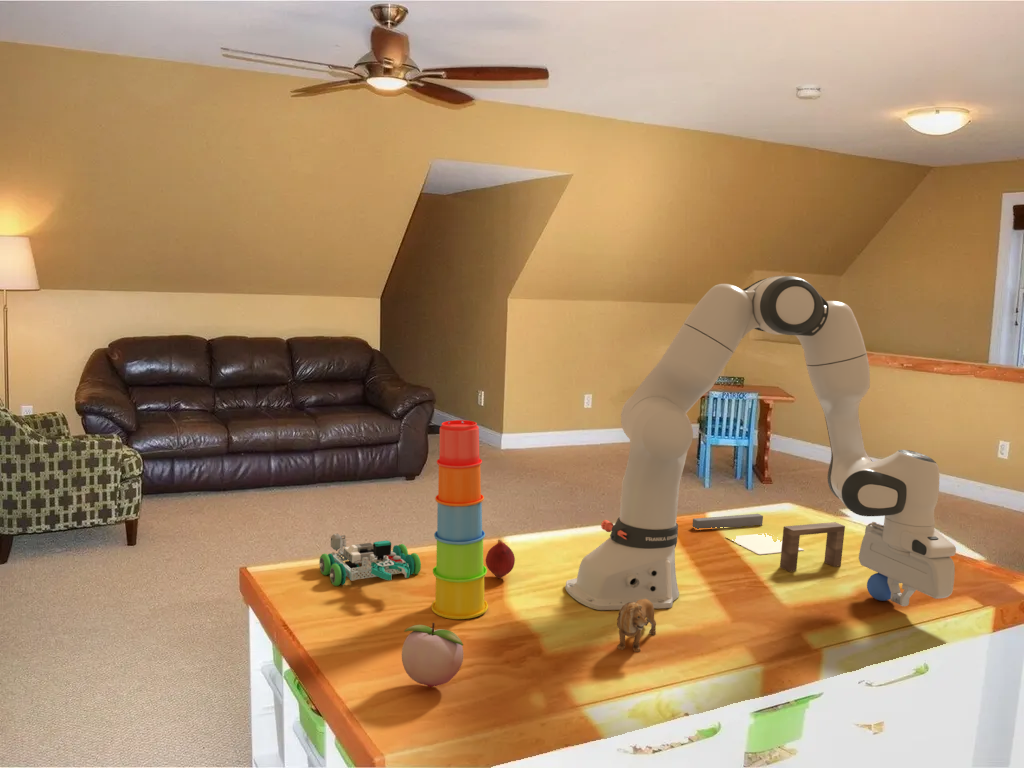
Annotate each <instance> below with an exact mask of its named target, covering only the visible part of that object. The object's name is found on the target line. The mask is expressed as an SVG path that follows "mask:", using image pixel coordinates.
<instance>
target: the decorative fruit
mask: <svg viewBox="0 0 1024 768" xmlns="http://www.w3.org/2000/svg"><path fill="white" fill-rule="evenodd" d="M431 625H432V626H431V627H430V626H427V625H424V624H415V625H412V626H409V627H407V628H406V629H405V630H404V631H403V632H409V631H410V633H409V634H408V635H407V636H406V638H405V640H404V642H403V645H402V648H401V649H402V650H401V662H402V666H403V668H404V670H405V673H406V674H407V675H408V677H409V678H410V679H411V680H413V681H414V682H416V683H418V684H420V685H425V686H427V687H428V688H434V687H438V686H441V685H444V684H447V683H448V682H450V681H451V680H452V679H453V678H454V677H455V676H456V675H457V674H458V672H459V671H460V669H461V667H462V664H463V662H464V647H463V646H464V644H463V641H462V639H461V638H460V637H459V636H458V635H457V633H455V632H454V631H451V630H448V629H444V628H443V629H442V628H441V629H440V628H439V629H435V626H436V624H435V622H432V624H431Z"/></svg>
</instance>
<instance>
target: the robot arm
mask: <svg viewBox="0 0 1024 768" xmlns="http://www.w3.org/2000/svg"><path fill="white" fill-rule="evenodd" d="M753 330H756V331H761V332H766V333H768V334H771V335H780V336H782V335H787V336H795V337H796V338H797V339H798V341H799V344H800V345H801V347H802V350H803V355H804V358H805V359H804V360H805V361H804V362H805V364H806V366H805V367H806V370H807V373H808V377H809V381H810V384H811V386H812V389H813V392H814V393H815V394H814V395H815V396H816V398H817V400H818V403H819V405H820V407H821V409H822V411H823V414H824V418H825V419H824V420H825V423H826V428H827V434H828V440H829V444H830V451H831V456H830V457H831V458H830V462H829V466H828V471H827V484H828V487H829V489H830V491H831V493H832V494H833V495H834V496H835V497H836V498H837V499H838V500H840V502H841V503H842V504H843V505H844V506H845V507H846V508H847V509H848V510H849V511H851V512H852V513H853V514H856V515H858V516H862V517H884V521H883V524H880V523H878V522H875V521H872V522H870V523H868V524H867V525H866V526H865V531H864V535H863V536H862V541H861V544H860V548H859V553H858V560H859V563H860V565H861V566H862V567H865V568H867V569H869V570H871V571H874V572H875V573H880V574H882V575H884V576H887V577H888V581H887V582H888V585H889V588H890V591H891V599H890V601H891V602H893V603H896V604H897V605H900V607H901V606H902V607H907V606H909V604H910V598H911V597H912V595H913V594H915V592H916V591H917V592H919V593H921V594H924V595H926V596H929V597H931V598H933V599H937V600H938V599H945V598H949V597H950V596H951V595H952V593H953V591H954V585H955V568H956V567H955V562H954V560H953V558H951V557H954V556H955V555H956V551H957V547H956V545H955V544H954V543H953V542H951V541H950V540H949V539H947V538H946V537H945V536H944V535H943V534H941V533H940V532H939V531H938V529H936V528H935V526H936V519H935V508H936V506H937V505H938V502H939V501H938V500H939V491H940V468H939V465H938V463H937V462H936V461H935V460H934V459H933V458H931V457H930V456H928V455H926V454H923V453H921V452H917V451H913V450H908V449H898V450H897V451H895V452H894V453H892V454H890V455H888V456H886V457H884V458H881V459H878V460H875V461H873V460H872V459H871V458H870V456H869V455H868V453H867V451H866V448H865V444H864V443H865V442H864V438H863V434H862V433H863V432H862V428H861V422H860V416H859V408H860V404H861V402H862V400H863V398H864V397H865V396H866V394H867V393H868V391H869V389H870V385H871V384H870V383H871V378H870V377H871V376H870V375H871V373H870V371H871V370H870V363H869V358H868V353H867V349H866V345H865V341H864V340H865V339H864V336H863V334H862V331H861V329H860V326H859V323H858V321H857V318H856V316H855V313H854V312H853V310H852V308H851V307H850V306H849V305H848V304H847V303H844V302H842V301H837V300H826V299H825V298H824V297H823V296H822V295H821V294H820V293H819V292H818V291H817V289H816V288H815V287H814V286H813V284H811V283H810V282H809V281H807V280H805V279H803V278H801V277H797V276H792V275H789V276H787V275H774V276H770V277H768V278H763V279H759V280H758V281H756V282H753V283H751V285H748V286H747V287H745V288H743V289H742V288H740V287H738V286H736V285H735V284H734V285H733V284H730V283H719V284H716V285H713V286H712V287H711V288H710V289H708V291H707V292H706V293H705V294H704V295H703V296H702V297H701V299H700V300H699V301H698V302H697V304H696V305H695V306H694V307H693V309H692V310H691V311H690V313H689V314H688V316H687V317H686V319H685V321H684V322H683V323H682V326H680V329H678V331H677V333H676V335H675V336H674V338H673V339H672V341H671V343H670V344H669V345H668V348H667V349H666V351H665V353H664V354H663V355H662V357H661V358H660V360H659V361H658V362H657V364H656V365H655V366H654V368H653V369H652V370H651V371H650V373H648V375H647V376H646V377H645V378H644V379H643V381H642V382H641V383H640V385H639V386H638V387H637V388H636V390H635V391H634V392H633V394H632V395H631V396H629V398H628V399H627V400H626V401H625V403H623V406H622V409H621V413H620V424H621V428H622V430H623V431H622V432H624V434H625V436H626V437H627V438H628V439H629V443H630V444H629V453H628V456H627V457H628V458H627V462H626V467H625V471H624V475H623V478H622V480H621V492H620V503H619V504H620V506H619V507H620V508H619V517H618V518H617V520H616V521H615V523H614V524H613V522H610V520H607V519H604V520H603V521H602V522H601V524H600V528H601V529H602V530H603V531H605V532H606V533H610V535H609V537H608V539H605V541H604V542H602V543H601V544H600V545H598V546H597V547H596V548H595V549H593V550H592V551H591V552H589V553H588V554H586V555H585V556H584V557H582V560H581V561H580V564H579V568H578V570H577V571H578V572H577V577H576V578H571V579H567V580H566V582H565V586H564V587H565V590H566V592H567V593H568V595H569V596H571V597H572V598H573V599H574V600H576V601H577V602H578V603H579V604H582V605H583V606H586V607H587V608H591V609H593V610H597V611H610V610H611V611H615V610H617V611H618V610H619V611H620V610H621V608H622V607H623V605H625V604H626V603H628V602H635V603H636V602H637V601H638V600H641V599H648V600H649V601H650V602H652V604H653V607H654V609H670V608H672V607H673V602H674V601H675V600H676V599H678V597H680V591H679V587H678V582H677V573H676V557H675V556H676V554H675V553H676V547H677V543H678V535H679V534H678V531H679V524H678V523H677V517H678V507H679V506H678V504H679V492H680V486H681V479H682V476H683V471H684V468H685V465H686V461H687V455H688V451H689V449H690V447H691V446H692V443H693V438H694V432H693V426H692V422H691V420H690V417H689V416H688V414H687V413H688V412H689V411H690V410H691V409H692V408H693V406H695V404H696V403H697V402H698V401H699V400H700V399H701V398H702V397H703V396H704V395H705V394H706V393H708V391H710V390H711V389H713V387H714V385H715V384H716V382H717V380H718V379H719V377H720V375H721V374H722V373H723V371H724V369H725V368H726V366H727V365H728V363H729V361H730V360H731V358H732V356H733V355H734V353H735V351H736V350H737V348H738V346H739V345H740V343H741V341H742V339H744V338H745V337H746V335H748V333H749V332H751V331H753ZM900 584H902V586H901V589H902V590H903V591H902V592H901V589H900Z"/></svg>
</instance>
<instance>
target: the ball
mask: <svg viewBox="0 0 1024 768" xmlns="http://www.w3.org/2000/svg"><path fill="white" fill-rule="evenodd" d="M887 581H888V577H887V576H884V575H882V574H880V573H878V572H875V573H873V574H871V576H870V577H868V578H867V583H866V590H867V592H868V593H869V595H870V596H871V597H872V598H874V599H875V600H877V601H881V602H882V601H883V602H885V601H889V600H891V591H890V588H889V585H888V582H887Z"/></svg>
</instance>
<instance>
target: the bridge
mask: <svg viewBox="0 0 1024 768" xmlns="http://www.w3.org/2000/svg"><path fill="white" fill-rule="evenodd" d="M845 529H846V526H845V525H843V524H841V523H839V522H836V521H835V522H834V521H833V522H820V523H808V524H797V525H785V526H783V531H782V538H781V539H782V549H781V553H780V563H779V568H781V569H783V570H786V571H787V572H797V568H798V557H799V551H798V549H799V548H800V537H801V536H804V535H818V534H819V535H820V534H826V540H825V541H826V542H825V550H824V551H825V552H824V560H823V562H824V563H825V564H827V565H829V566H832V567H834V568H835V567H841V566H842V558H843V550H844V549H843V548H844V540H845V539H844V538H845Z"/></svg>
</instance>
